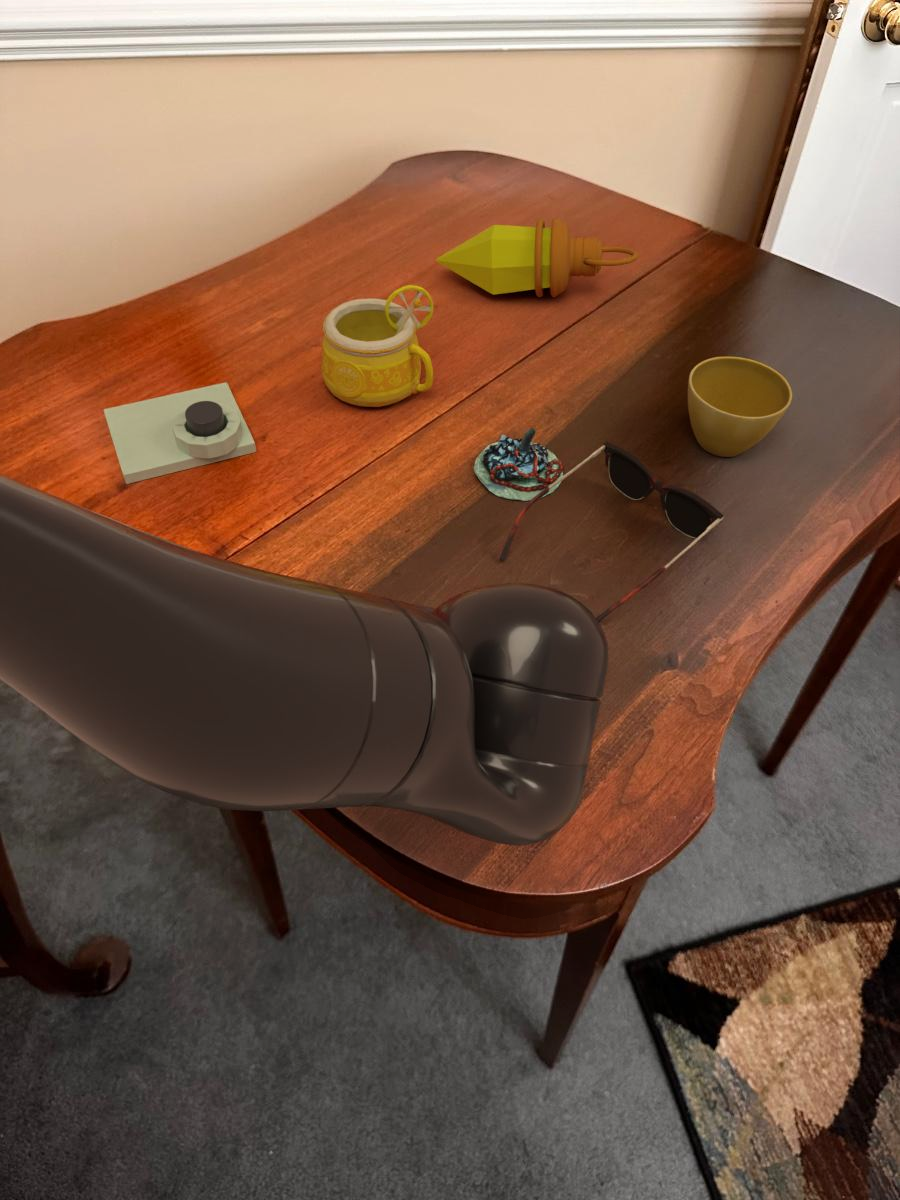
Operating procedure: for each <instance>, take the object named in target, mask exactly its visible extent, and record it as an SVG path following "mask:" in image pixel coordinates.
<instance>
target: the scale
mask: <svg viewBox="0 0 900 1200" xmlns="http://www.w3.org/2000/svg"><path fill="white" fill-rule="evenodd" d="M200 401H212V402H215V403H217V404H219V405H220V406H221V408H222V410H223V415H224V420H225V428H224V429H223V431H221V432H220V433H218V434H217V435H212V436H208V437H198V436H194V435H193V434H191V433H190V431H189V429H188V425H187V421H186V417H185V411H186V409H187V408H188V407H189V406H190V405H192V404H194V403H197V402H200ZM102 411H103V414H104V417H105V420H106V424H107V427H108V430H109V434H110V436H111V440H112V443H113V447H114V450H115V454H116V456H117V460H118V463H119V466H120V470H121V473H122V476H123V480H124V482H125V484H126V485H129V484H133V483H138V482H141V481H145V480H149V479H153V478H158V477H161V476H165V475H169V474H173V473H177V472H181V471H185V470H189V469H193V468H199V467H201V466H205V465H210V464H213V463H217V462H221V461H226V460H230V459H234V458H238V457H242V456H245V455H246V456H247V455H251V454H254V453H257V448H256V447H257V446H256V442H255V440H254V437H253V436H252V433H251V431H250V429H249V427H248V425H247V422H246V420H245V418H244V416H243V414H242V412H241V409H240V407H239V405H238V403H237V401H236V399H235V397H234V394H233V392H232V391H231V387H230V386H229V383H228V382H227V381H225V382H220V383H216V384H211V385H207V386H203V387H198V388H194V389H189V390H185V391H180V392H175V393H171V394H166V395H162V396H158V397H153V398H148V399H144V400H140V401H135V402H131V403H126V404H122V405H117V406H112V407H107V408H104V409H103V410H102Z"/></svg>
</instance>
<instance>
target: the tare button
mask: <svg viewBox="0 0 900 1200" xmlns="http://www.w3.org/2000/svg"><path fill="white" fill-rule="evenodd" d="M185 417H186V421H187V425H188V429H189V431H190V433H191V434H193V435H194V436H198V437H208V436H212V435H217V434H218V433H220V432H221V431H223V429H224V428H225V420H224V415H223V410H222V408H221V406H220V405H219V404H217V403H215V402H212V401H200V402H197V403H194V404H192V405H190V406H189V407H188V408H187V409H186V411H185Z"/></svg>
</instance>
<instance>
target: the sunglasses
mask: <svg viewBox="0 0 900 1200" xmlns="http://www.w3.org/2000/svg"><path fill="white" fill-rule="evenodd" d="M602 444H603V445H601V446H600V447H599V448H598V449H596V450H595V451H594V452H592V453H591V454H590V455H589V456H588V457H587V458H584V459H583V461H581V462H580V463H579V464H577V465H575V467H573V468H572V469H570V470H569V471H568V472H567V473H565V474H563V476H562V477H561V478H560V479H558V480H557V481H556V482H554V483H553V484H551V485H550V486H548V487H547V488H546V489H544V490H543V491H542V492H540V493H539V494H538V495H536V496H535V497H534V498H533V499H531V500H528V501H527V503H526V504H525V505H524V506H523V507H522V509H521V510H520V511H519V514H518V515H517V517H516V519H515V521H514V523H513V526H512V528H511V529H510V532H509V534H508V537H507V539H506V542H505V544H504V546H503V549H502V551H501V553H500V556H499V560H501V561H504V562H506V560H507V558H508V554H509V550H510V548H511V544H512V542H513V539H514V537H515V535H516V532H517V530H518V528H519V525H520V523H521V521H522V519H523V518H524V515H525V514H526V513H527V512H528V510H529V509H530V508H531V507H532V506H533V505H534V504H535V503H537V501H539V500H540V499H542V498H544V497H545V496H544V495H545V494H547V493H548V492H549V490H550V489H551V488H553V487H554V486H555V485H557V484H558V483H559V482H561V483H562V481H563V480H565V479H566V478H568V476H570V475H571V474H573V473H574V472H576V471H577V470H578V469H579V468H581V467H582V466H583V465H585V464H586V463H587V462H588V461H590V460H591V459H594V458H595V457H597V456H599V454H601V453H603V452H604V454H605V457H604V466H605V467H606V468H608V477H609V480H610V482H611V484H612V485H613V486H614V487H615V488H616V489H617V491H619V492H620V493H621V494H622V495H624V496H625V497H627V498H628V499H631V500H633V501H640V500H642V499H643V498H648V497H649V496H650V495H651V494H652V493H653V492H654V491H655V490H656V491H657V492H658V493H659V497H660V505H661V509H662V510H663V511H665V514H666V517H667V519H668V521H669V523H670V524H671V526H672V527H673V528H675V529H676V530H677V531H678V532H680V533H682V534H683V535H685V536H687V537H689V538H692V539H694V540H693V541H692V542H691V543H690V544H688V545H687V546H686V547H685V548H684V549H683V550H681V551H680V552H679V553H678V554H677V555H675V556H674V557H673V558H672V559H671V560H670V561H669V562H668V563H666V565H664V566H662V567H659V569H657V570H656V571H655V572H653V574H652V575H650V576H649V577H648V578H647V579H645V580H644V581H643V582H641V584H639V585H637V586H636V587H635V588H633V589H632V590H630V591H629V592H627V594H626V595H624V596H623V597H621V598H620V599H618V600H617V601H616V602H615V603H614V604H612V605H610V607H608V608H607V609H606V610H604V611H603V612H602V613H600V614H599V615H597V616H595V618H596V619H597V620H598V622H599V623H601V622H602V621H603V620H604V619H605V618H606V617H607V616H609V615H610V614H611V613H613V612H614V611H615V610H617V609H618V608H620V607H621V606H622V605H624V603H626V602H627V601H628V600H630V599H631V598H633V597H634V596H635V595H636V594H637V593H639V592H641V591H642V590H643V589H645V588H646V587H647V586H649V585H650V584H652V582H654V581H655V580H656V579H658V577H660V576H661V575H662V574H663V573H664V572H665V571H666V570H667V569H668V568H669V567H670V566H671V565H672V564H674V563H675V562H676V561H677V560H678V559H679V558H681V557H682V556H683V555H684V554H685V553H687V551H689V550H690V549H691V548H692V547H693V546H694V545H695V544H697V542H699V541H700V540H701V539H702V538H703V537H704V536H705V535H706V534H709V533H711V532H712V531H713V529H714V528H715V527H716V526H717V525H719V524H720V523H722V522H723V519H724V518H725V515H724V514H723V513H721V512H720V511H719V510H718V509H717V508H716V507H715V506H713V504H711V503H709V502H708V501H707V500H705V499H704V498H702V497H701V496H699V495H697V493H695V492H692V491H690V490H688V489H686V488H683V487H681V486H678V485H675V484H666V483H665V484H664V483H663V482H662V481H660V480H659V478H657V475H656V474H655V473H654V472H653V470H651V468H650V467H649V466H647V464H646V463H644V462H643V461H642V460H641V459H640V458H638V457H637V456H636V455H634V454H633V453H631V452H630V451H628V450H626V449H624V448H622V447H620V446H619V445H616V444H614V443H612V442H609V441H605V442H604V443H602ZM543 496H544V497H543ZM541 497H542V498H541Z"/></svg>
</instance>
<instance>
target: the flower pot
mask: <svg viewBox="0 0 900 1200" xmlns="http://www.w3.org/2000/svg"><path fill="white" fill-rule="evenodd" d="M792 399H793V391H792V388H791V385H790V384H789V382H788V380H787V379H786V378H785V377H784V376H783V375H782V374H781V373H780V372H778V371H777V370H776V369H774V368H772V367H770V366H769V365H767V364H765V363H762V362H760V361H757V360H754V359H750V358H745V357H740V356H715V357H710V358H708V359H705V360H702V361H701V362H699V363H697V364H696V365H694V367H693V368H692V369H691V371H690V373H689V376H688V384H687V409H688V415H689V420H690V425H691V428H692V432H693V434H694V437H695V439H696V441H697V443H698V445H699V446H700V447H701V449H703V450H704V451H705V452H707V453H709V454H711V455H714V456H717V457H721V458H732V457H736V456H739V455H741V454H743V453H745V452H746V451H748V450H749V449H751V448H752V447H754V446H755V445H757V444H758V443H759V442H760V441H762V440H763V439H764V438H765V437H766V436H767V435H768V434H769V433H770V432H771V431H772V430H773V429H774V427H775V426H777V424H778V422H779V421H780V420H781V418H782V417H783V416H784V414H785V412H786V411H787V409H788V408H789V406H790V405H791V402H792V401H793V400H792Z"/></svg>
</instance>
